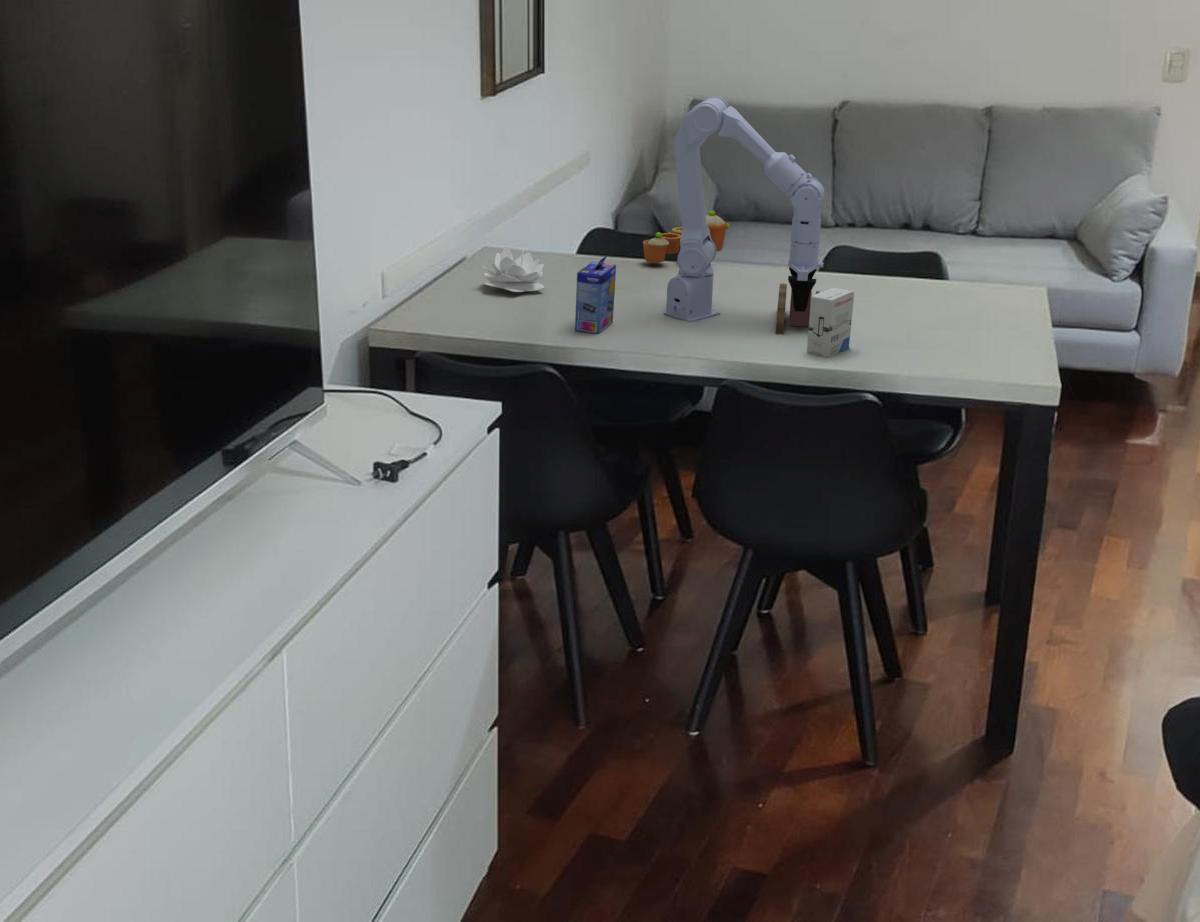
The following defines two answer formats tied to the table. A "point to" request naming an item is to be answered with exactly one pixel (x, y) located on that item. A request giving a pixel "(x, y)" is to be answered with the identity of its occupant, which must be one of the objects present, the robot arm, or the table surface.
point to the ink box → (830, 322)
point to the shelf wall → (781, 308)
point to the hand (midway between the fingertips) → (800, 306)
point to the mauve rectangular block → (799, 314)
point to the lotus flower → (515, 272)
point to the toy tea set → (671, 240)
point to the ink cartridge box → (595, 297)
